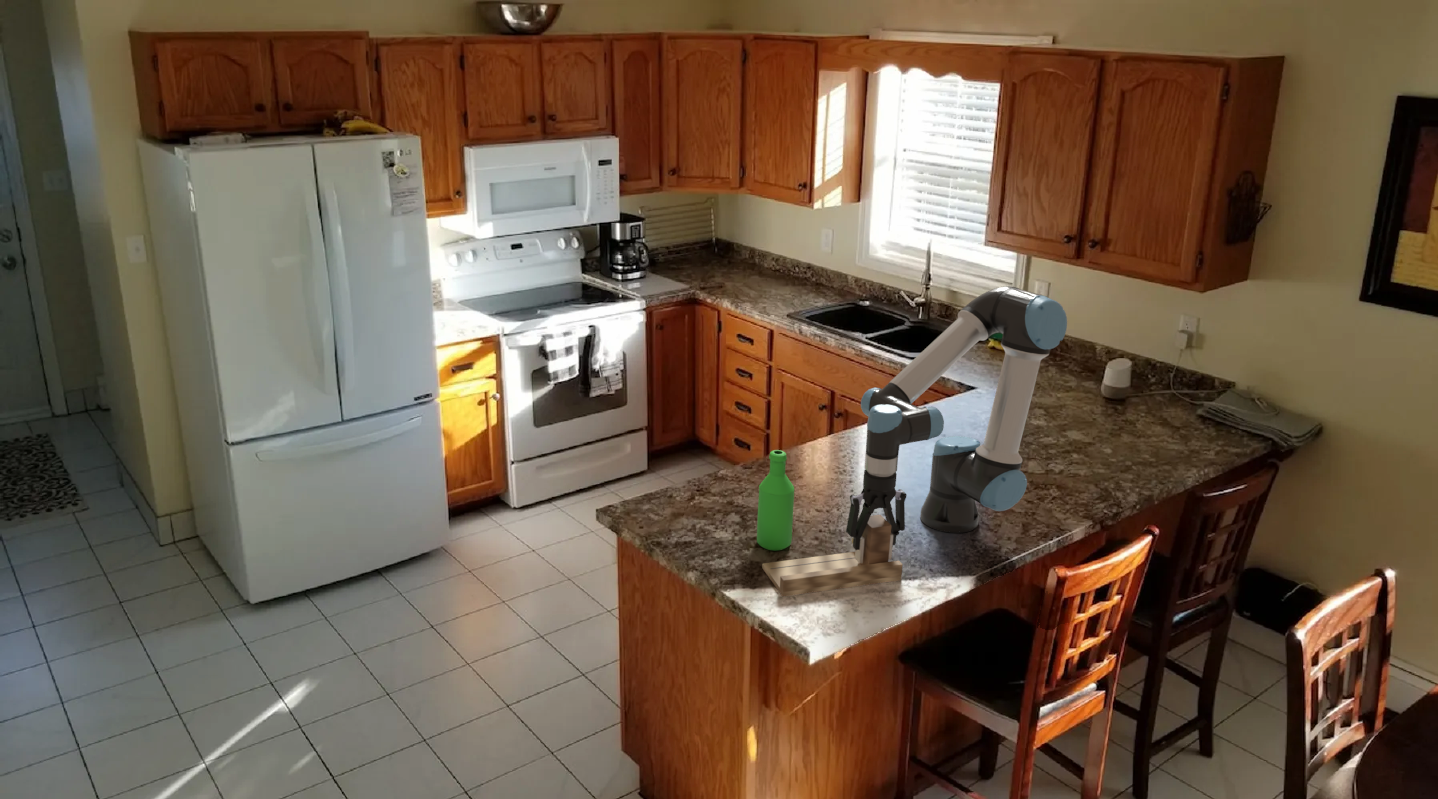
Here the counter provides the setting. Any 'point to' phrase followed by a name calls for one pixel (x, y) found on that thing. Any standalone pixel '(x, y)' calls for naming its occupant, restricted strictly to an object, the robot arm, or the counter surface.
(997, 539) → the counter surface
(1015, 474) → the robot arm
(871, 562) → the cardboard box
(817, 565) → the board
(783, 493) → the bottle
